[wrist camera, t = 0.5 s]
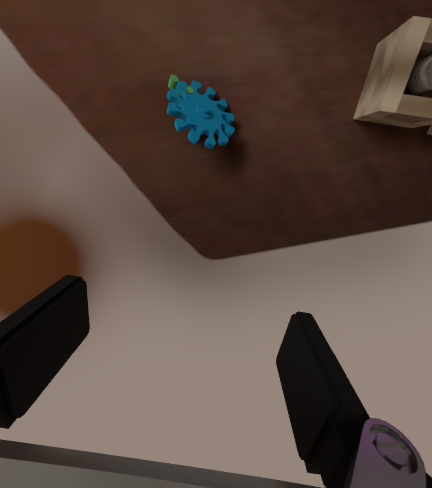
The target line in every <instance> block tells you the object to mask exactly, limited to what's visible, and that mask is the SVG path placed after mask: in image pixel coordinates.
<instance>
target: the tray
mask: <svg viewBox="0 0 432 488" xmlns="http://www.w3.org/2000/svg"><path fill="white" fill-rule="evenodd" d="M427 134H428V135H432V125H430V127H429V130H428V132H427Z"/></svg>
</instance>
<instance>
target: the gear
mask: <svg viewBox="0 0 432 488" xmlns="http://www.w3.org/2000/svg"><path fill="white" fill-rule="evenodd" d="M168 87H169V88H170V90H169V92H168V95H167V98H168V100H170V101H172V102H169V105H168V108H167V114H168V115H170V116H178V117H180V118H182V119H184V120H185V121H184V120H182V119H180V118H177V119H176V121H175V123H174V125H175V128H176V129H177V131H178V132H182V131H183V130H184V129H191V130H190V133H189V135H188V139H189V140H190V141H191V142H192V143H193V144H197V142H198V140H199V138H200V136H201V135H202V134H206V135H207V136H208V138H207V140H206V141H205V146H206V147H207V148H210V149H213V147H214V146H215V144H216V142H215V139H214V133H215V134H217V135H218V137H219V138H218V144H219V145H220V146H223V145H226V144H227V143H228V141H229V140H228V137H230V136H231V135H232V134H233V133H234V131H235V129H234V128H233V127H232V126H230V125H231V123H232V122H233V120H234V115H233V114H232V113H226V112H223V111H225V109H226V108H227V103H226V101H225V99H221V100H219V101H212V100H210V99H213V98H214V96H215V94H216V92H215V91H214V90H213V89H212V88H211V87H208V89H207V91H206V93H205V94H203V95H200V94H199V93H198V92H199V90H200V87H201V84H200V83H199V82H197V81H194V80H193V81H192V83H191V86H188V87H187V84H186V83H185V82H184V81H178V78H177V76H175V75H171V77H170V80H169V84H168ZM177 106H179V107H180V109H179V108H178V107H177ZM223 119H224V120H223ZM228 124H229V125H228ZM222 128H223V129H224V131H225V134H224V133H223V131H222Z"/></svg>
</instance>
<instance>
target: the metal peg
mask: <svg viewBox="0 0 432 488" xmlns="http://www.w3.org/2000/svg"><path fill="white" fill-rule="evenodd" d="M430 90H432V55H430V56H428V57H426V58H424V59H422V60H420V61H419V62H417V63H415V64H414V66H413V68H412V71H411V74H410V76H409V79H408V82H407V84H406V87H405V89H404V92H403V94H406V95H413V96H415V95H418V94H421V93H424V92H427V91H430Z"/></svg>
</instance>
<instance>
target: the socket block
mask: <svg viewBox="0 0 432 488" xmlns="http://www.w3.org/2000/svg"><path fill="white" fill-rule="evenodd" d="M430 55H432V19H431V18H425V17H418V16H413V17H411V18H410V19H409V20H408V21H406V22H405V23H404V24H402V25H401V26H400V27H399V28H397V29H396V30H395V31H393V32H392V33H391V34H390V35H388V36H387V37H386V38H384V39H383V40H382V41H381V42H379V43H378V44H377V47H376V50H375V53H374V56H373V59H372V62H371V65H370V68H369V71H368V74H367V78H366V81H365V84H364V87H363V90H362V93H361V96H360V99H359V102H358V105H357V109H356V112H355V115H354V118H353V119H354V120H360V121H367V122H374V123H380V124H387V125H394V126H401V127H407V128H415V127H421V126H427V125H432V90H430V91H427V92H424V93H421V94H418V95H415V96H413V95H406V94H403V92H404V89H405V87H406V84H407V82H408V79H409V76H410V74H411V71H412V68H413V66H414V64H415V63H417V62H419V61H420V60H422V59H424V58H426V57H428V56H430Z"/></svg>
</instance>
